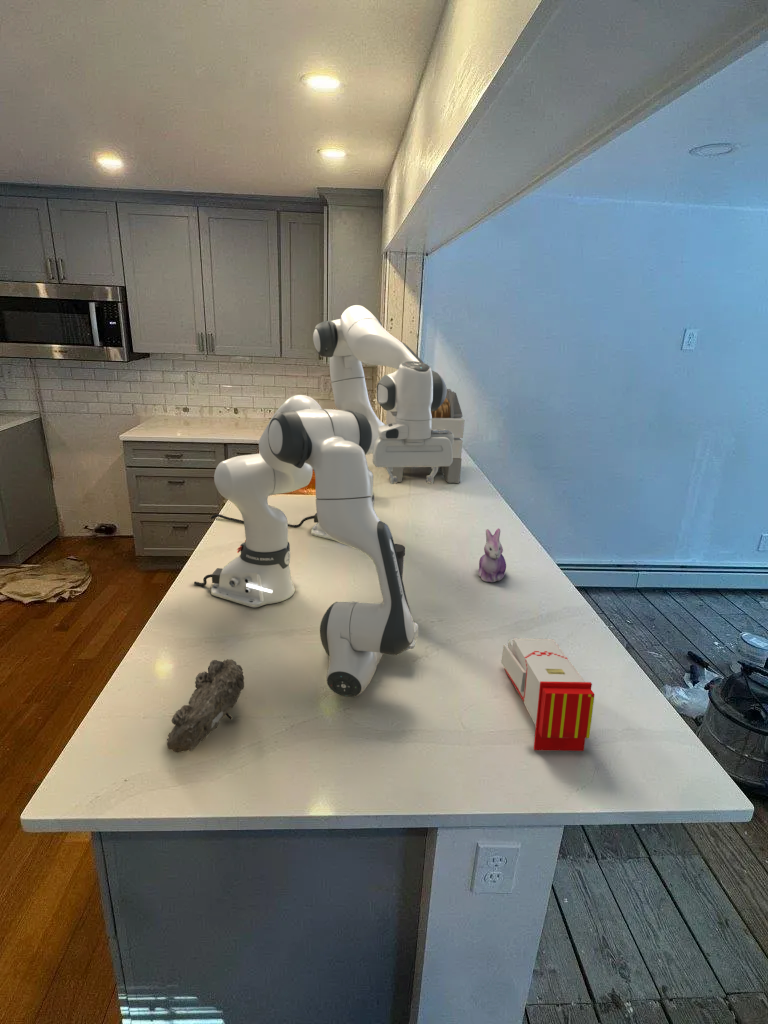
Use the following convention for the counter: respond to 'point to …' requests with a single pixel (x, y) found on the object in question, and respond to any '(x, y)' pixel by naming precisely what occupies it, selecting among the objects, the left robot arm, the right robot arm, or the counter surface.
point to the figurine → (492, 559)
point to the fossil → (206, 705)
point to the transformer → (452, 421)
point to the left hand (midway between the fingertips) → (381, 612)
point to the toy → (550, 693)
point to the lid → (400, 550)
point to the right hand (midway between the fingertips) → (411, 483)
